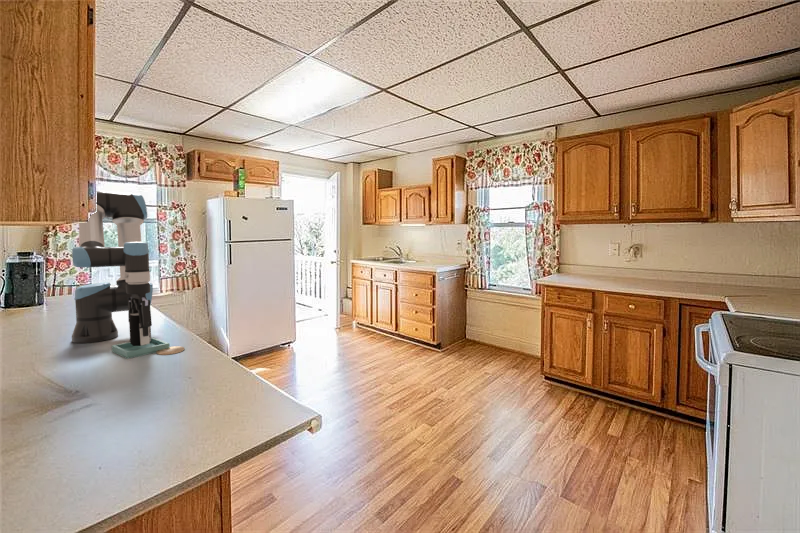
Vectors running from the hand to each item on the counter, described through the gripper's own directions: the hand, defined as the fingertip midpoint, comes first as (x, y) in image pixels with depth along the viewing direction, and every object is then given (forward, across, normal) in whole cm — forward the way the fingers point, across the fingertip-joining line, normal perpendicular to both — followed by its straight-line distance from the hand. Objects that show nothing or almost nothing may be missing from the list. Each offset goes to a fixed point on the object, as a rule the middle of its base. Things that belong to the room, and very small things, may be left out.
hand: (140, 342), depth 140 cm
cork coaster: (+3, +10, +6) cm, 12 cm away
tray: (+3, 0, 0) cm, 3 cm away
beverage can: (+1, 0, 0) cm, 1 cm away
